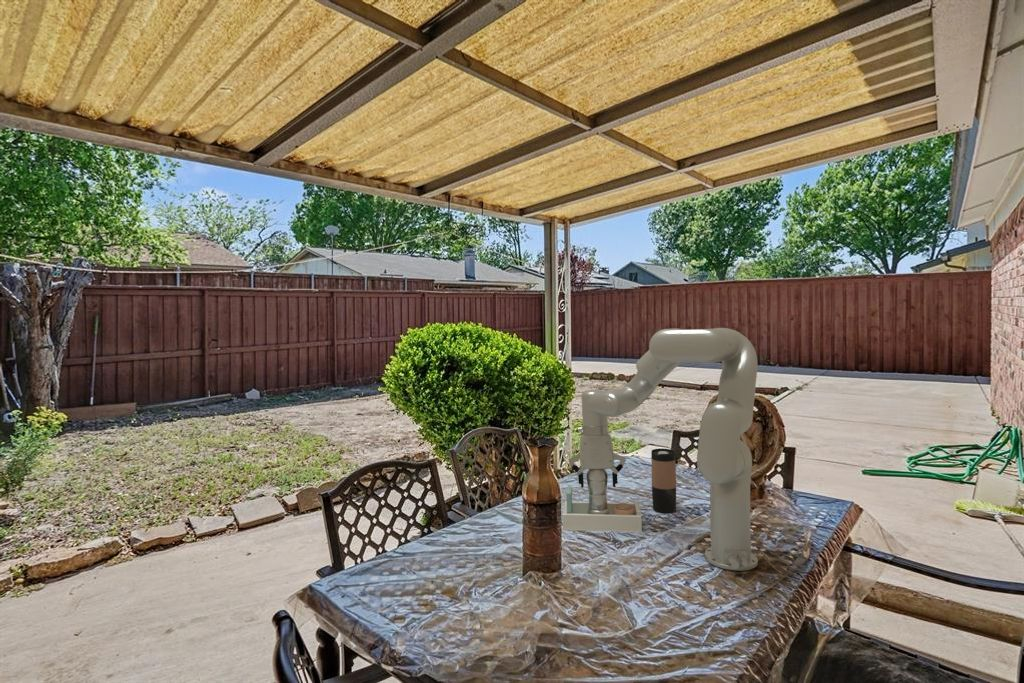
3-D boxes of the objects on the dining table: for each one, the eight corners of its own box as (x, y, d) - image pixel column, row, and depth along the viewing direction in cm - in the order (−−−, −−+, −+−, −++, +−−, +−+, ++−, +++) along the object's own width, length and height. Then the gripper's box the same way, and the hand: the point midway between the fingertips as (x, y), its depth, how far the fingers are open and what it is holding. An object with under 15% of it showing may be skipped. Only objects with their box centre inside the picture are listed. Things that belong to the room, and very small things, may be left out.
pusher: (571, 526, 158) (570, 493, 157) (567, 526, 158) (566, 493, 158) (572, 516, 166) (571, 484, 166) (568, 516, 166) (567, 484, 166)
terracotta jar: (634, 527, 156) (634, 509, 156) (614, 527, 157) (614, 508, 157) (633, 520, 162) (632, 502, 162) (613, 519, 163) (613, 502, 163)
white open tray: (641, 534, 153) (641, 513, 153) (563, 532, 156) (562, 511, 156) (638, 519, 165) (637, 499, 165) (565, 517, 168) (564, 498, 168)
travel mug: (674, 508, 174) (672, 448, 173) (679, 516, 166) (677, 454, 166) (650, 507, 175) (649, 448, 174) (654, 516, 167) (653, 454, 166)
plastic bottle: (609, 527, 157) (607, 461, 156) (586, 526, 158) (585, 460, 158) (609, 519, 163) (608, 456, 162) (588, 518, 165) (586, 455, 164)
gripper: (566, 433, 157) (569, 490, 158) (625, 432, 155) (627, 489, 155) (567, 428, 165) (570, 482, 165) (623, 427, 162) (626, 482, 162)
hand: (598, 486), depth 160 cm, fingers open, 9 cm apart
